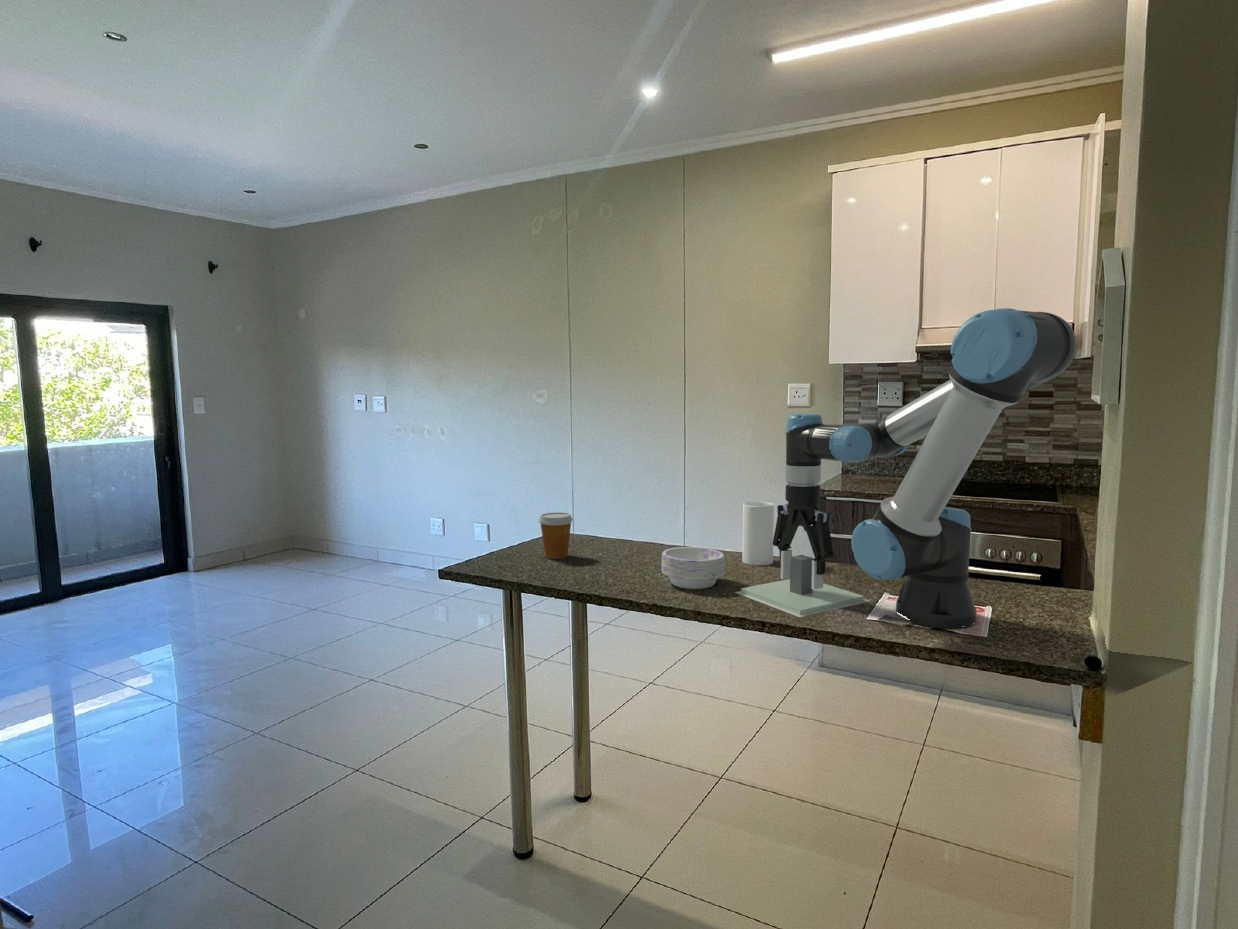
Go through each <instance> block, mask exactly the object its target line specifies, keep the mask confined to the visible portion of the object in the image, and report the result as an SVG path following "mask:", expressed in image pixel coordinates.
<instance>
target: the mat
mask: <svg viewBox="0 0 1238 929" xmlns="http://www.w3.org/2000/svg"><path fill="white" fill-rule="evenodd" d="M734 593H735V594H737V595H741V596H743V597H746V598H748V599H750V600H753V601H755V602H756V601H757V602H758V603H761V604H764V605H767V606H769V607H772V608H774V609H777V610H778V611H779V610H780V611H782V612H784V613H788V614H789V615H793V616H795V617H797V618H803V617H808V616H812V615H816V614H821V613H825V612H826V613H827V612H830V611H834V610H838V609H843V608H847V607H851V606H856V605H860V604H864V603H865V604H866V603H869V602H871V600H869V599H865V598H864V601H860V602H856V603H851V604H847V605H842V606H838V607H833V608H829V609H825V610H820V611H816V612H811V613H807V614H802V615H799V614H796V613H793V612H791V611H788V610H785V609H783V608H780V607H777V606H775V605H772V604H769V603H767V602H764V601H762V600H759V599H756V598H754V597H751V596H748V595H746V594H743V593H741V590H740V591H735V592H734Z"/></svg>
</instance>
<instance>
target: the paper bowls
mask: <svg viewBox="0 0 1238 929" xmlns="http://www.w3.org/2000/svg"><path fill="white" fill-rule="evenodd" d="M725 558H726V555H725V553H723V552H722V551H719V550H716V549H714V548H707V547H698V546H697V547H696V546H682V547H680V546H679V547H672V548H667V549H665V550H663V551H662V553H661V573H662V574H663V575H665V576H667V577H669V578H668V579H669V580H670V582H671V584H672V585H673V586H675V587H676V588H677V587H678V588H681V589H689V590H690V589H691V590H701V589H702V590H703V589H708V588H711V587H713V586H714V585H715V584H716V582H717V580H718V579H721V578H723V576H725V571H726V568H725V567H726V564H725V563H726V562H725V561H726V559H725Z"/></svg>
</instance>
